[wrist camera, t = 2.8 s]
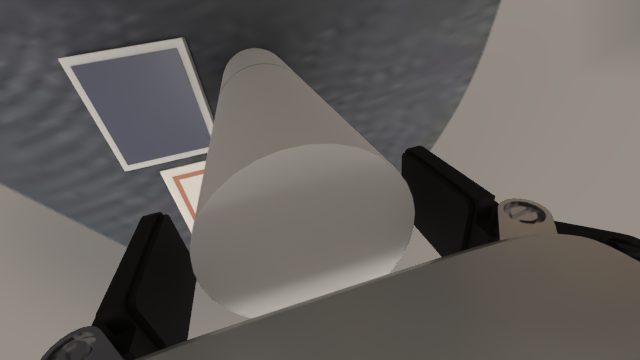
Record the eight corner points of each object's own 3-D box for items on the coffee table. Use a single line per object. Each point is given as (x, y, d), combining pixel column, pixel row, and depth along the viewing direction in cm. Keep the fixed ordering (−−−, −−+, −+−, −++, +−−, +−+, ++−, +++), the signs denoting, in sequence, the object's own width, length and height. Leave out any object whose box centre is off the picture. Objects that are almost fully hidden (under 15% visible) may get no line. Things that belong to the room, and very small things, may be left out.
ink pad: (67, 56, 24) (55, 59, 23) (184, 36, 26) (181, 38, 24) (129, 164, 30) (124, 172, 29) (222, 143, 32) (221, 150, 30)
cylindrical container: (245, 128, 32) (266, 345, 11) (208, 67, 28) (126, 226, 7) (301, 99, 32) (430, 261, 11) (272, 35, 28) (384, 94, 7)
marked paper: (159, 170, 32) (159, 172, 31) (272, 144, 33) (273, 145, 33) (201, 251, 38) (201, 252, 38) (293, 225, 40) (293, 226, 40)
